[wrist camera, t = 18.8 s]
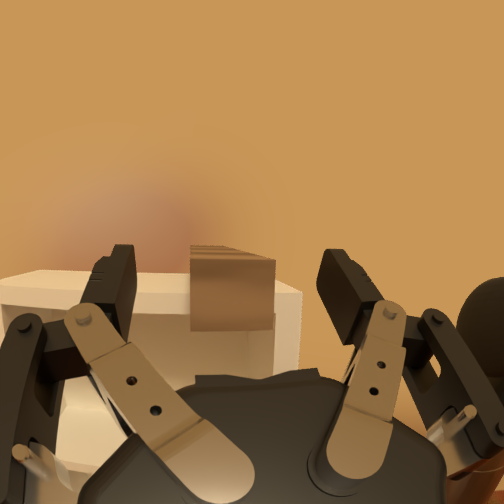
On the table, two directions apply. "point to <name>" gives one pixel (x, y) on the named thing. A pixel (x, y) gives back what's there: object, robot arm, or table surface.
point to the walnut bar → (230, 290)
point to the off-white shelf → (148, 350)
